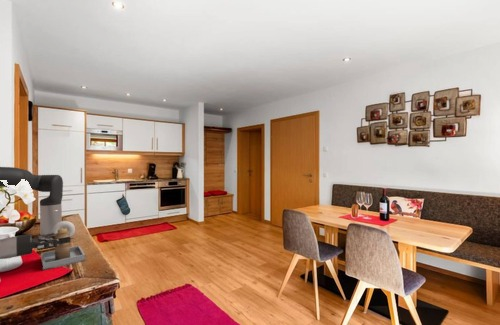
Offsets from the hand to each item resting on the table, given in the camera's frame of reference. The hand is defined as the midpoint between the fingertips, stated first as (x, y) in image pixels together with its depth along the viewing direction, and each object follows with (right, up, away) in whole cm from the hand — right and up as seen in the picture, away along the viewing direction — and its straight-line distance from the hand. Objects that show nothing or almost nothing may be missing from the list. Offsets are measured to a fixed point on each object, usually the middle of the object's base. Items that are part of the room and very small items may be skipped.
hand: (69, 237), depth 106 cm
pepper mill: (-2, -8, -1) cm, 9 cm away
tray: (-2, -9, -1) cm, 9 cm away
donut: (-20, -9, +24) cm, 32 cm away
